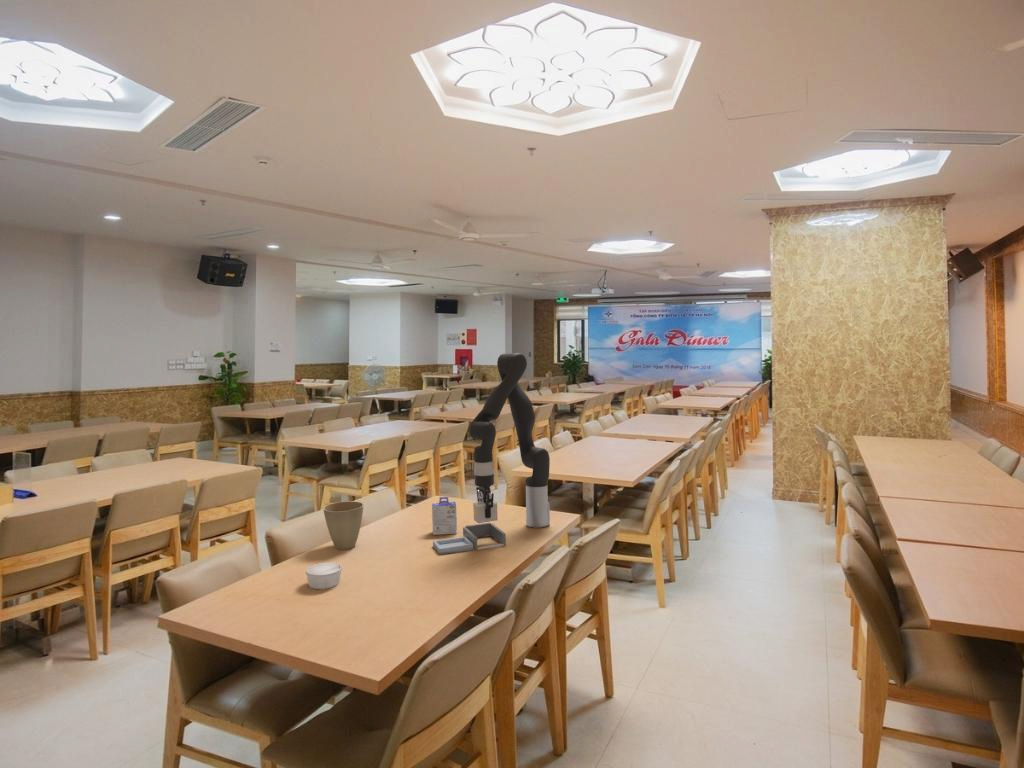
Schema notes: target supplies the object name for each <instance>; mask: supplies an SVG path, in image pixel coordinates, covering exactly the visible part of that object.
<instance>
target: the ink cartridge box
mask: <svg viewBox="0 0 1024 768" xmlns="http://www.w3.org/2000/svg"><path fill="white" fill-rule="evenodd" d="M431 510H432V511H431V513H432V514H431V515H432V516H431V518H432V521H431V522H432V535H433V536H437V535H451V534H452V535H455V534H457V530H458V529H457V520H458V519H457V503H456V501H449V497H448V496H440V497H439V502H433V503H432V504H431Z"/></svg>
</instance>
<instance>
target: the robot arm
mask: <svg viewBox="0 0 1024 768" xmlns="http://www.w3.org/2000/svg"><path fill="white" fill-rule="evenodd" d="M496 362H497V363H496V364H497V372H498V373H499V376H500V379H501V382H500V383H499V384H498V385H497V386H496V387H495V388H494V389H493V390H492V391H491V393H490V394H488V396H487V398H486V401H485V403H484V405H483V407H482V408H481V410H480V412H479V413H477V415H476V416H475V417H474V418H473V420H472V421H471V422H470V425H469V429H468V433H469V436H470V437H471V438H472V439H473V440H478V441H479V440H482V441H481V444H480V445H477V446H475V447H474V449H473V450H474V451H473V457H474V458H473V459H474V461H473V462H474V464H473V472H474V473H473V475H474V476H473V477H474V478H473V479H474V485H475V487H476V488H475V490H476V499H477V500H476V502H477V501H482V502H483V503H484V507H485V518H491V508H493V500H494V497H495V496H494V493H493V492H492V490H491V487H492V486H494V484H495V475H494V474H495V472H494V471H495V469H494V467H495V466H494V462H493V460H494V459H493V448H494V444H495V439H496V435H497V430H496V427H495V425H494V424H493V421H496V420H497V419H499V416H500V414H501V412H502V410H503V408H504V406H505V403H506V402H507V400H508V403H509V409H510V413H511V416H512V419H513V424H514V426H515V432H516V435H517V439H518V440H517V441H518V447H519V451H520V460H521V462H522V464H523V466H524V467H526V468H527V469H528V468H529V469H532V475H531V476H528V477H527V478H525V509H526V510H525V515H526V517H525V518H526V519H525V521H526V522H525V523H526V526H527V527H530V528H535V529H536V528H544V527H548V526H550V525H551V524H550V522H551V519H550V518H551V517H550V516H551V514H550V512H551V511H550V502H548V500H549V499H548V481H549V478H550V464H551V463H550V459H551V458H550V454H549V452H548V450H547V449H545V448H543V447H536V445H535V443H534V442H535V441H534V438H533V429H534V426H535V422H536V415H535V412H534V407H533V403H532V400H531V399H530V397H529V396H528V395H527V393H525V390H523V389H522V388H521V386H520V384H519V381H520V379H521V378H522V376H523V375H524V374H525V371H526V370H527V366H528V362H527V357H526V356H525V355H524V354H523V353H520V352H509V353H506V352H505V353H502V354H499V356H498V358H497V361H496ZM488 503H489V505H488Z"/></svg>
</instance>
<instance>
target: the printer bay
mask: <svg viewBox="0 0 1024 768" xmlns="http://www.w3.org/2000/svg"><path fill="white" fill-rule="evenodd" d="M506 535H507V534H506V532H504V531H503V530H501V528H500V527H498V526H497V525H496V524H494V523H492V522H484V523H477V524H470V525H469V524H468V525H465V526H464V527H463V526H462V537H465V536H466V537H467V538H468V539H469V540H470V541H471V542H472V543H473V549H474V550H473V551H475V550H479V551H480V550H486V549H494V548H500V547H505V546H507V541H506V538H507V536H506ZM483 537H492V538H493V539H494V540H496V541H497V542H498V543H497V544H490V545H484V546H478V538H483Z"/></svg>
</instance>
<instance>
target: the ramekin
mask: <svg viewBox="0 0 1024 768" xmlns="http://www.w3.org/2000/svg"><path fill="white" fill-rule="evenodd" d="M342 567H343V566H342V565H341V564H340V563H338V562H332V561H329V562H319V563H315V564H312V565H310V566H308V567H307V568H306V569H305V575H306V577H307V583H308V586H309V587H310V588H311V589H313V588H314V589H313V590H327V589H331V588H333V587H335V586H337V585H338V584H339V583H340V581H341V574H342V570H343V568H342Z"/></svg>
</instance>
